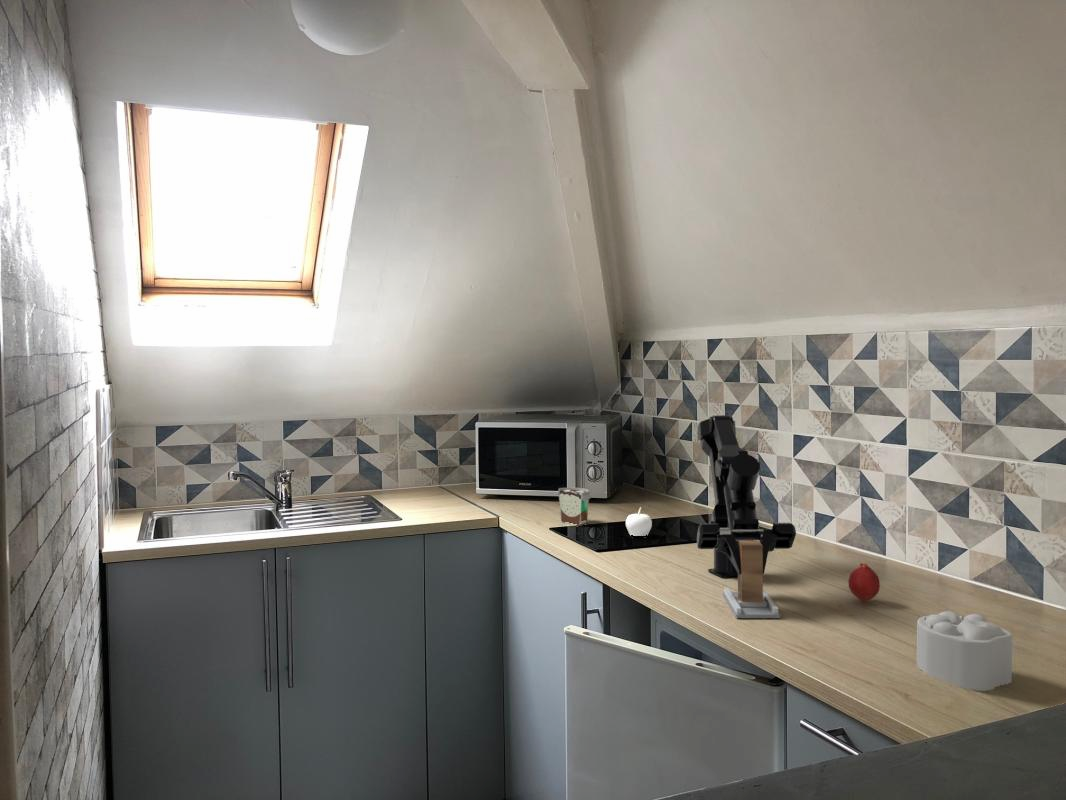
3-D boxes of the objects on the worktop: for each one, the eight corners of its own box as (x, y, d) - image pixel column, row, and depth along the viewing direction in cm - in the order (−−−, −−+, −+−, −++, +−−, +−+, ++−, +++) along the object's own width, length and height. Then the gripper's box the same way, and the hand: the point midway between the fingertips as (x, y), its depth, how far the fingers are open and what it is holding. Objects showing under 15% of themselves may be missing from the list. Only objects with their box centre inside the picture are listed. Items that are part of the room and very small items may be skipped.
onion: (854, 596, 172) (854, 557, 172) (883, 601, 168) (883, 561, 168) (844, 603, 168) (844, 562, 167) (874, 608, 164) (874, 567, 164)
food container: (599, 525, 248) (599, 491, 248) (583, 527, 245) (582, 493, 244) (574, 518, 259) (573, 486, 258) (558, 521, 255) (557, 488, 255)
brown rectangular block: (733, 599, 168) (733, 540, 168) (761, 599, 168) (761, 540, 167) (738, 606, 163) (738, 545, 163) (767, 606, 163) (766, 545, 162)
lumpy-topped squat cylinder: (978, 694, 122) (978, 635, 122) (899, 666, 134) (900, 612, 133) (1020, 680, 128) (1021, 623, 127) (941, 654, 139) (942, 602, 138)
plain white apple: (656, 538, 230) (656, 508, 229) (633, 540, 227) (632, 510, 227) (644, 533, 236) (644, 504, 236) (621, 535, 234) (621, 506, 233)
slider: (722, 596, 174) (722, 587, 174) (762, 596, 173) (762, 587, 173) (736, 618, 159) (736, 609, 159) (779, 618, 158) (779, 609, 158)
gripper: (780, 527, 180) (793, 593, 170) (691, 527, 181) (698, 594, 171) (789, 496, 172) (803, 564, 161) (696, 497, 173) (704, 565, 162)
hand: (751, 573), depth 164 cm, fingers closed on brown rectangular block, 4 cm apart
